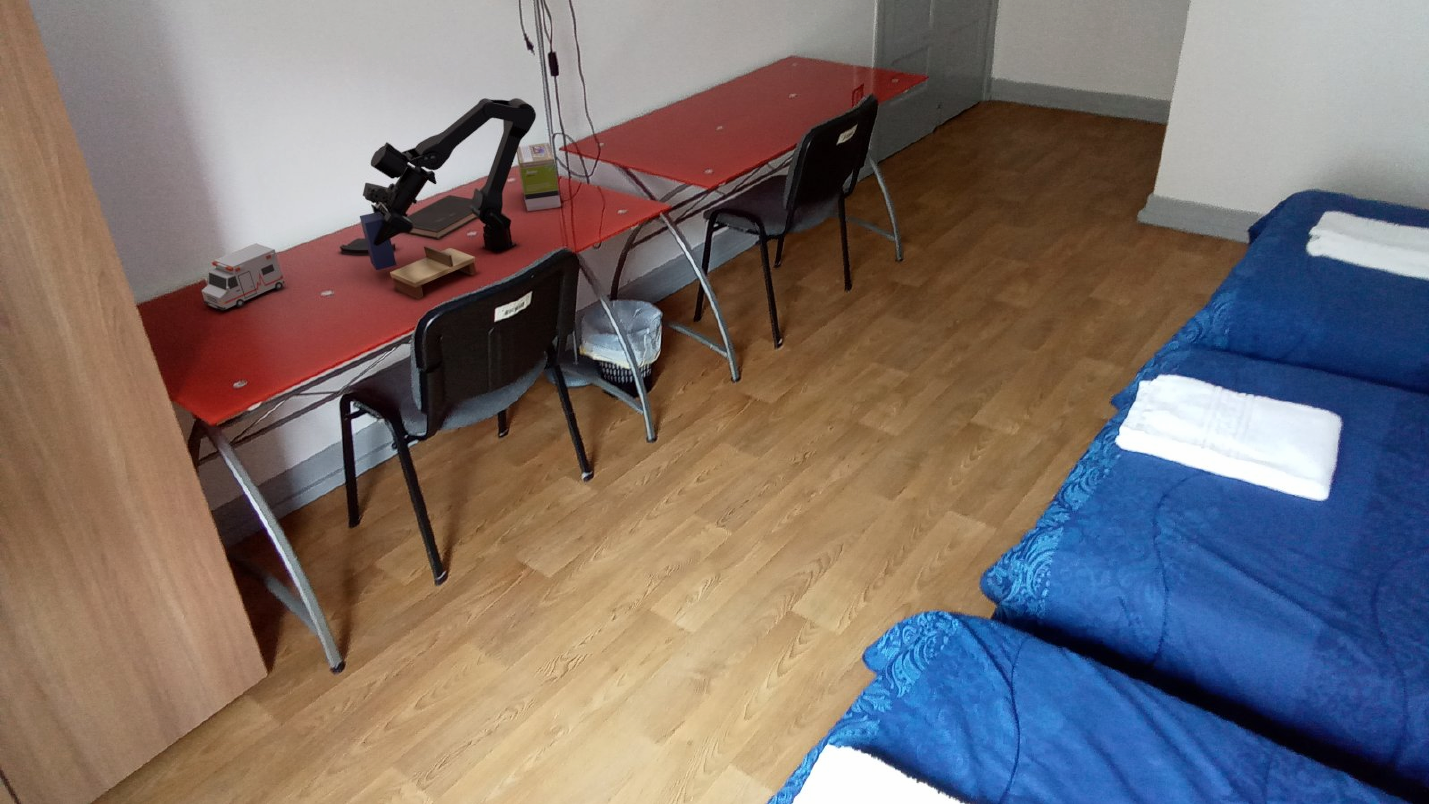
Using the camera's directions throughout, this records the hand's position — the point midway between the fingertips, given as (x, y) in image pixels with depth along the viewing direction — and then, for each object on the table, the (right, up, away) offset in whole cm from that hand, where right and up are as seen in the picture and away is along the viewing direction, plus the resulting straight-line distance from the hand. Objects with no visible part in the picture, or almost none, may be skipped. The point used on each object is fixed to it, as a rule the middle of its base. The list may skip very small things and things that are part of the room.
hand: (372, 240), depth 243 cm
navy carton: (+1, -5, +4) cm, 7 cm away
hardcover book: (+8, +12, +35) cm, 38 cm away
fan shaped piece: (-8, +1, +20) cm, 21 cm away
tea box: (+34, +19, +45) cm, 60 cm away
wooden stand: (+15, -10, +1) cm, 18 cm away
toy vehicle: (-30, -14, -2) cm, 33 cm away
